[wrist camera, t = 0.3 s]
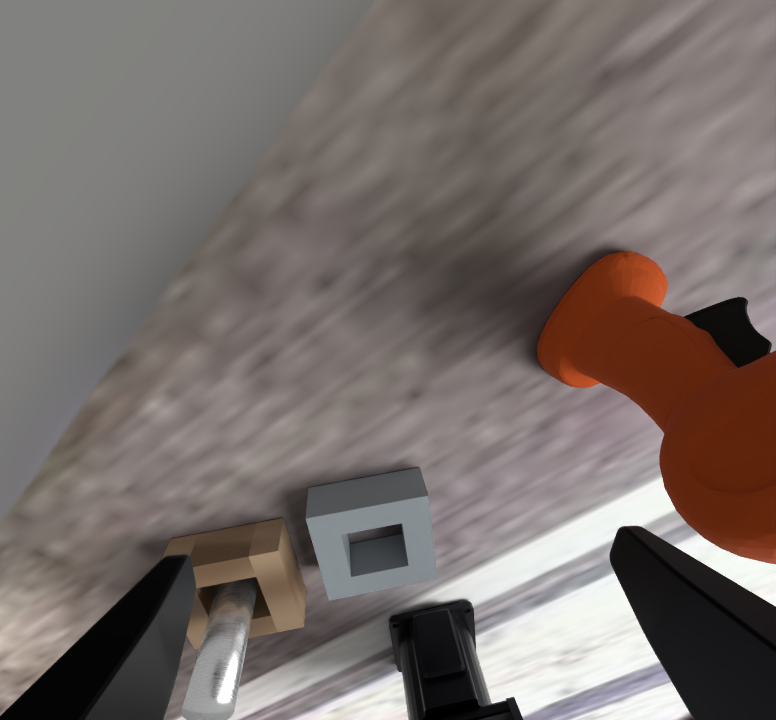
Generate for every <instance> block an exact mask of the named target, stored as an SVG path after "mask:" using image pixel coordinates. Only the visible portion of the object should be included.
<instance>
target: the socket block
mask: <svg viewBox="0 0 776 720" xmlns="http://www.w3.org/2000/svg"><path fill="white" fill-rule="evenodd" d="M172 554H188V555H190V557H191V560H192V565H193V570H194V575H195V581H196V594H195V599H194V603H193V608H192V612H191V616H190V621H189V625H188V629H187V636H188V638H189V640H190V642H191V644H192V646H193V647H194V649H199V648H200V646H201V642H202V639H203V635H204V632H205V629H206V625H207V622H208V618H209V615H210V611H211V608H212V605H213V601H214V598H215V594H216V591H217V587H218V584H221V583H227V582H232V581H237V580H242V579H247V578H252V577H257V580H258V582H259V584H258V589H257V594H256V599H255V604H254V610H253V615H252V620H251V625H250V631H249V636H248V638H253V637H258V636H263V635H268V634H273V633H277V632H282V631H287V630H292V629H297V628H302V627H304V620H305V606H306V588H305V585H304V582H303V579H302V576H301V572H300V569H299V566H298V563H297V560H296V557H295V553H294V550H293V547H292V544H291V541H290V538H289V534H288V531H287V528H286V525H285V522H284V519H283V518H281V519H275V520H270V521H264V522H259V523H254V524H248V525H243V526H238V527H232V528H227V529H222V530H216V531H211V532H206V533H200V534H195V535H190V536H184V537H179V538H174V539H171V540H170V542H169V544H168V546H167V548H166V551H165V553H164V555H163V557H162V559H163V558H164V557H165V556H167V555H172Z"/></svg>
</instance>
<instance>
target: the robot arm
mask: <svg viewBox="0 0 776 720" xmlns="http://www.w3.org/2000/svg"><path fill="white" fill-rule="evenodd" d="M610 562H611V565H612V567H613V570H614V572H615V574H616V576H617V578H618V580H619V582H620V584H621V586H622V588H623V590H624V592H625V595H626V597H627V599H628V601H629V603H630V605H631V607H632V609H633V611H634V613H635V615H636V618H637V620H638V622H639V624H640V626H641V628H642V630H643V632H644V634H645V636H646V638H647V640H648V641H649V643H650V645H651V647H652V649H653V650H654V652H655V654H656V656H657V657H658V659H659V661H660V662H661V664H662V666H663V668H664V669H665V671H666V673H667V674H668V676H669V678H670V680H671V681H672V683H673V685H674V686H675V688H676V690H677V692H678V693H679V695H680V697H681V698H682V700H683V702H684V703H685V705H686V707H687V709H688V710H689V712H690V714H691V715H692V717H693V719H694V720H776V607H775V606H774V605H772V604H770V603H768V602H767V601H765V600H763V599H762V598H760V597H758V596H757V595H755V594H753V593H752V592H750V591H748V590H747V589H745V588H743V587H742V586H740V585H738V584H737V583H735V582H733V581H732V580H730V579H728V578H726V577H725V576H723V575H721V574H720V573H718V572H716V571H715V570H713V569H711V568H710V567H708V566H706V565H705V564H703V563H701V562H700V561H698V560H696V559H695V558H693V557H691V556H690V555H688V554H686V553H684V552H683V551H681V550H679V549H678V548H676V547H674V546H673V545H671V544H669V543H668V542H666V541H664V540H663V539H661V538H659V537H658V536H656V535H654V534H653V533H651V532H649V531H647V530H646V529H644V528H642V527H640V526H623V527H620V528H619V529H618V531H617V533H616V536H615V539H614V542H613V545H612V548H611V551H610ZM195 594H196V581H195V575H194V570H193V565H192V560H191V557H190V555H188V554H172V555H167V556H165V557H164V558H163V559H161V560H160V561H159V562H158V563H157V564H156V565H155V566H154V567H153V568H152V569H151V570H150V571H149V572H148V573H147V574H146V575H145V576H144V577H143V578H142V579H141V580H140V581H139V582H138V583H137V584H136V585H135V586H134V587H133V588H132V589H131V590H129V591H128V592H127V593H126V594H125V595H124V596H123V597H122V598H121V599H120V600H119V601H118V602H117V603H116V604H115V605H114V606H113V607H112V608H111V609H110V610H109V611H108V612H107V613H106V614H105V615H104V616H103V617H102V618H101V619H100V620H99V621H98V622H97V623H95V624H94V625H93V626H92V627H91V628H90V629H89V630H88V631H87V632H86V633H85V634H84V635H83V636H82V637H81V638H80V639H79V640H78V641H77V642H76V643H75V644H74V645H73V646H72V647H71V648H70V649H69V650H68V651H67V652H66V653H65V654H64V655H63V656H62V657H60V658H59V659H58V660H57V661H56V662H55V663H54V664H53V665H52V666H51V667H50V668H49V669H48V670H47V671H46V672H45V673H44V674H43V675H42V676H41V677H40V678H39V679H38V680H37V681H36V682H35V683H34V684H33V685H32V686H31V687H30V688H29V689H28V690H27V691H25V692H24V693H23V694H22V695H21V696H20V697H19V698H18V699H17V700H16V701H15V702H14V703H13V704H12V705H11V706H10V707H9V708H8V709H7V710H6V711H5V712H4V713H3V714H2V715H1V716H0V720H163V719H164V716H165V713H166V710H167V707H168V704H169V701H170V698H171V694H172V691H173V688H174V684H175V680H176V676H177V672H178V668H179V664H180V659H181V655H182V651H183V646H184V642H185V638H186V634H187V629H188V625H189V621H190V616H191V612H192V608H193V603H194V599H195ZM389 628H390V633H391V639H392V644H393V649H394V654H395V659H396V664H397V669H398V671H399V672H402V676H403V683H404V690H405V698H406V705H407V712H408V719H409V720H523V718H522V716H521V713H520V711H519V708H518V706H517V703H516V701H515V698H514V697H511V698H507V699H506V701H502V702H498V703H494V704H492V703H491V700H490V696H489V693H488V690H487V686H486V683H485V680H484V677H483V673H482V670H481V667H480V663H479V660H478V657H477V653H476V641H475V624H474V609H473V606H472V603H471V602H468V601H466V602H461V603H456V604H451V605H446V606H441V607H436V608H432V609H427V610H422V611H417V612H412V613H407V614H402V615H398V616H393V617H391V618H390V619H389Z"/></svg>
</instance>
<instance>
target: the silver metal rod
mask: <svg viewBox="0 0 776 720" xmlns="http://www.w3.org/2000/svg"><path fill="white" fill-rule="evenodd" d="M258 584H259V582H258V580H257V577H252V578H247V579H242V580H237V581H232V582H227V583H221V584H218V587H217V591H216V594H215V598H214V601H213V605H212V608H211V611H210V615H209V618H208V622H207V625H206V629H205V632H204V635H203V639H202V642H201V646H200V649H199V653H198V656H197V660H196V663H195V666H194V670H193V673H192V677H191V680H190V684H189V687H188V690H187V694H186V697H185V701H184V704H183V708H182V715H183V717H184V718H185V719H186V720H227V719H229V718H230V717H231V716H232V715H233V713H234V709H235V704H236V699H237V693H238V688H239V683H240V678H241V673H242V667H243V662H244V657H245V652H246V646H247V641H248V636H249V631H250V625H251V620H252V615H253V610H254V604H255V599H256V594H257V589H258Z"/></svg>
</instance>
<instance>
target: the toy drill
mask: <svg viewBox="0 0 776 720" xmlns="http://www.w3.org/2000/svg"><path fill="white" fill-rule="evenodd" d="M667 290H668V283H667V279H666V276H665V274H664V273H663V271H662V270H661V268H660V267H659V266H658V265H657V264H656V263H655V262H654V261H652V260H651V259H650V258H648V257H645V256H643V255H641V254H638V253H635V252H618V253H614V254H609V255H606V256H605V257H603V258H601V259H600V260H598V261H596V262H595V263H594V264H593V265H592V266H590V267H589V268H588V269H587V270H586V271H585V272H584V273H583V274H582V275H581V276H580V277H579V278H578V280H577V281H576V282H575V283H574V284H573V285H572V287H571V288H570V289H569V290H568V291H567V293H566V294H565V295H564V297H563V298H562V299H561V301H560V302H559V304H558V305H557V307H556V308H555V310H554V311H553V313H552V314H551V316H550V317H549V319H548V321H547V323H546V325H545V327H544V329H543V331H542V333H541V335H540V338H539V341H538V344H537V357H538V360H539V363H540V364H541V365H542V367H543V368H544V369H545V370H546V371H547V372H548V373H549V374H551V375H552V376H553V377H554V378H556V379H557V380H559V381H561V382H562V383H565V384H567V385H569V386H571V387H578V388H586V387H591V386H594V385H596V384H599V383H602V384H604V385H606V386H609V387H611V388H613V389H615V390H617V391H619V392H621V393H622V394H624V395H626V396H628V397H629V398H630V399H631V400H633V401H634V402H635V403H636V404H638V405H639V406H640V407H641V408H642V409H643V410H644V411H645V412H646V413H647V414H648V415H649V416H650V417H651V418H652V419H653V420H654V421H655V422H656V424H657V425H658V426H659V427H660V429H661V430H662V431H663V432H664V437H663V441H662V444H661V450H660V469H661V473H662V478H663V482H664V487H665V489H666V491H667V493H668V495H669V497H670V499H671V501H672V503H673V505H674V507H675V509H676V510H677V512H678V513H679V514H680V515H681V516H682V518H683V519H684V520H685V521H686V523H687V524H688V525H690V526H691V527H692V528H693V529H694V530H695V531H697V532H698V533H699V534H700V535H701V536H702V537H704V538H705V539H707V540H708V541H710V542H711V543H713V544H715V545H716V546H718V547H720V548H722V549H724V550H726V551H729V552H731V553H733V554H736V555H738V556H741V557H745V558H749V559H753V560H758V561H762V562H766V563H770V564H776V351H774V352H772V353H770V350H771V346H772V343H771V342H770V341H769V340H767V339H766V338H765V337H763V336H762V335H761V334H759V333H758V332H757V331H756V330H755V328H754V327H753V326H752V324H751V322H750V319H749V317H748V314H747V304H748V300H747V299H745V298H743V297H737V298H732V299H729V300H726V301H723V302H720V303H717V304H715V305H712V306H709V307H707V308H704V309H702V310H699V311H696V312H694V313H691V314H689V315H687V316H684V317H682V316H678V315H675V314H671V313H669V312H667V311H665V310H663V309H661V308H660V307H661V305H662V302H663V300H664V298H665V294H666V291H667Z"/></svg>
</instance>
